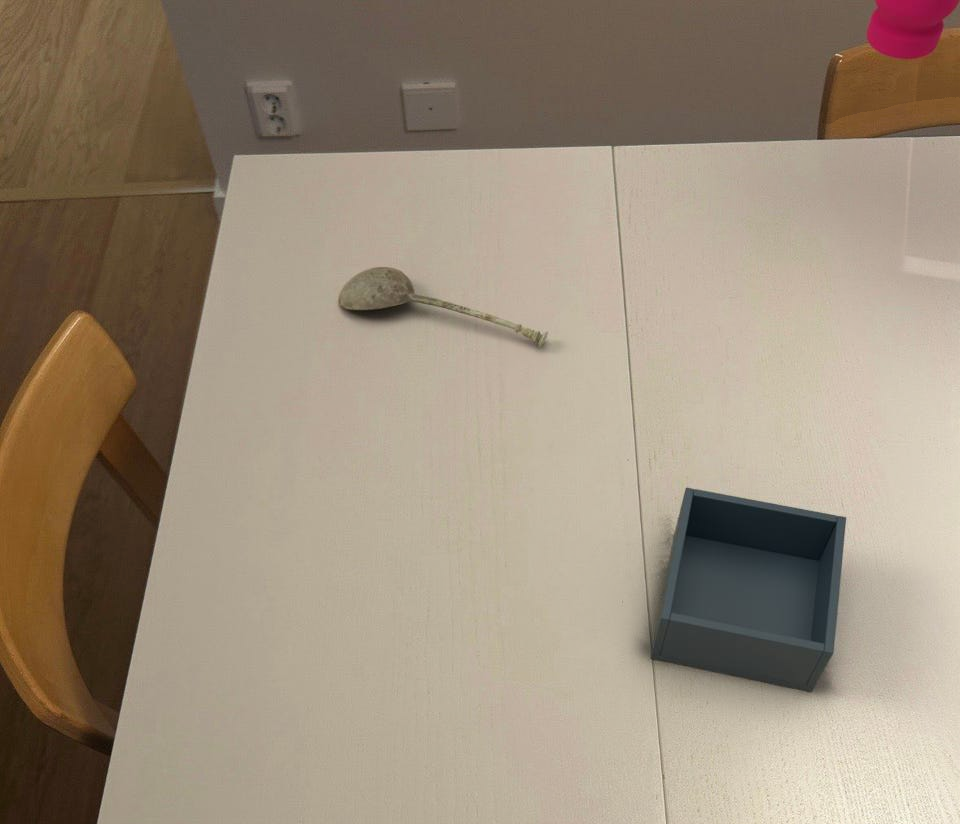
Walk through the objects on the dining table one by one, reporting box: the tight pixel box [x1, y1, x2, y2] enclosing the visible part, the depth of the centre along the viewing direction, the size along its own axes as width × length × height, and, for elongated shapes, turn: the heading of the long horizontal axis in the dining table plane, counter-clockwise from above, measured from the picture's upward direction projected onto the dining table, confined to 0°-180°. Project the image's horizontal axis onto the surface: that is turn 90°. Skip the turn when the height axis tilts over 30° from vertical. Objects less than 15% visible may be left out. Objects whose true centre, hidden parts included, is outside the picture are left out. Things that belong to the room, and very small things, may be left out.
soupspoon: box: [338, 266, 549, 349], centre depth 105 cm, size 22×3×7 cm
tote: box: [649, 487, 847, 693], centre depth 85 cm, size 13×13×6 cm
